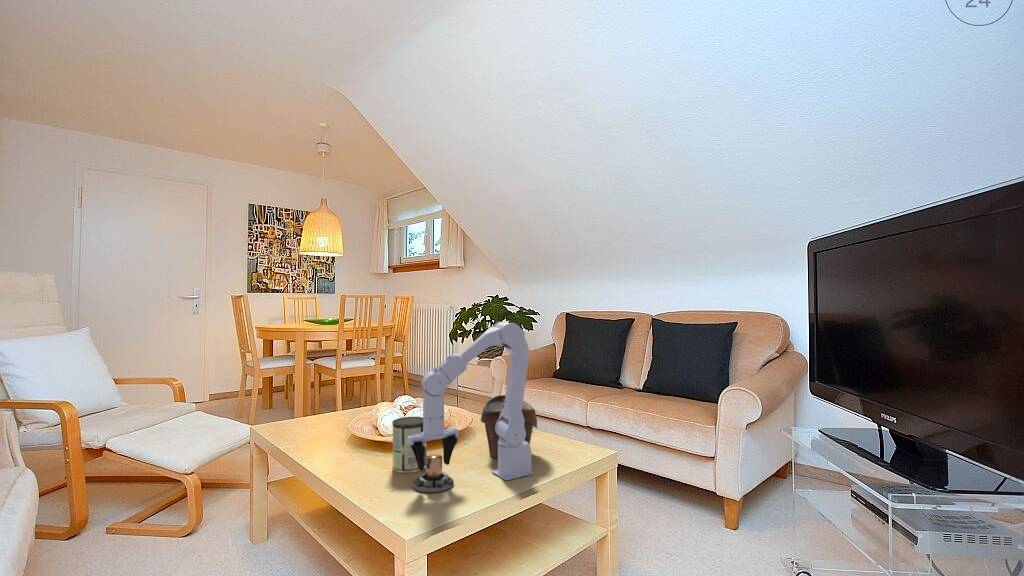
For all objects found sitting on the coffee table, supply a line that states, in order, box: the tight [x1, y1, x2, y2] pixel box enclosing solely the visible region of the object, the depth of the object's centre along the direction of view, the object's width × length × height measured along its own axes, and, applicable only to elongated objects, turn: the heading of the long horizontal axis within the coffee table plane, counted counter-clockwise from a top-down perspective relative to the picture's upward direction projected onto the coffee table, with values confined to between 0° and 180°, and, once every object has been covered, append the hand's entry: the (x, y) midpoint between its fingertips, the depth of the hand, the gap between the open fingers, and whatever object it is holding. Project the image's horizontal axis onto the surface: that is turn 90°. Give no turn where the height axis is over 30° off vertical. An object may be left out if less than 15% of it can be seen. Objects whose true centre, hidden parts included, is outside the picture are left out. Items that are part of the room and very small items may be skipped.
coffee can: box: [391, 416, 427, 474], centre depth 144 cm, size 10×10×14 cm
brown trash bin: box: [480, 394, 538, 459], centre depth 156 cm, size 18×20×18 cm
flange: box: [412, 471, 455, 494], centre depth 129 cm, size 11×11×2 cm
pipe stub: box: [425, 453, 443, 481], centre depth 129 cm, size 4×4×7 cm
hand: (433, 466), depth 130 cm, fingers open, 7 cm apart
